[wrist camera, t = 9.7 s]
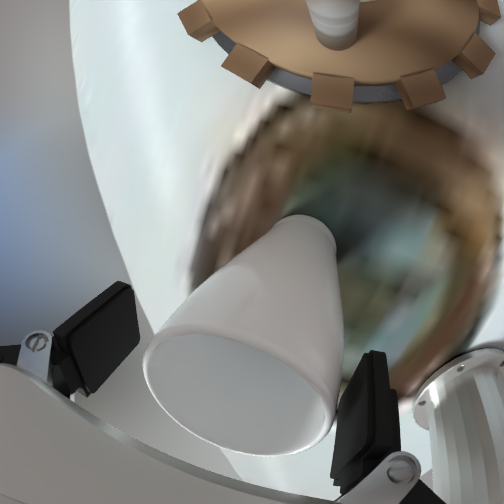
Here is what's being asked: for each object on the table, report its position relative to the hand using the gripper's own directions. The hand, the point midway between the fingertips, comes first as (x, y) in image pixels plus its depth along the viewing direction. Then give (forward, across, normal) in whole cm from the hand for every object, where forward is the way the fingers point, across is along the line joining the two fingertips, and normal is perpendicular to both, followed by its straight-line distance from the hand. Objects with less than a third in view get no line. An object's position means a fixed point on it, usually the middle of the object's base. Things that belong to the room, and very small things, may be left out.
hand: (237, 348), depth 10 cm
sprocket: (+11, -1, -21) cm, 24 cm away
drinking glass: (+13, -1, 0) cm, 13 cm away
